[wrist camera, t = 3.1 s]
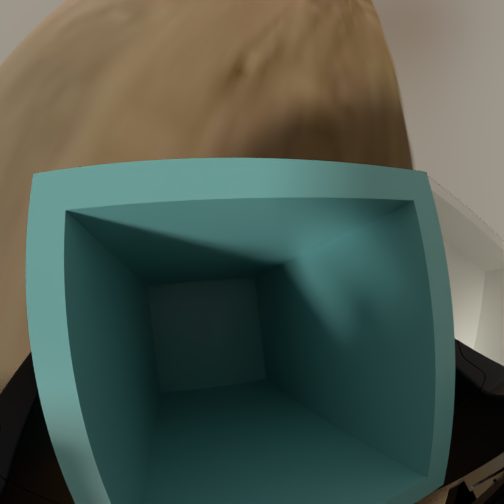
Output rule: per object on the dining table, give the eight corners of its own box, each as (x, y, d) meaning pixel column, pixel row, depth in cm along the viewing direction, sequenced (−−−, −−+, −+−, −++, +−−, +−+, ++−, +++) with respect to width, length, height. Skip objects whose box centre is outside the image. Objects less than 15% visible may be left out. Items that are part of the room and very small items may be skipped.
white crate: (451, 418, 18) (491, 427, 13) (321, 398, 16) (364, 419, 11) (483, 267, 21) (521, 258, 17) (377, 195, 19) (420, 170, 15)
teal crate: (274, 385, 15) (443, 484, 4) (152, 400, 14) (114, 572, 2) (261, 265, 16) (426, 171, 5) (137, 275, 15) (33, 173, 3)
